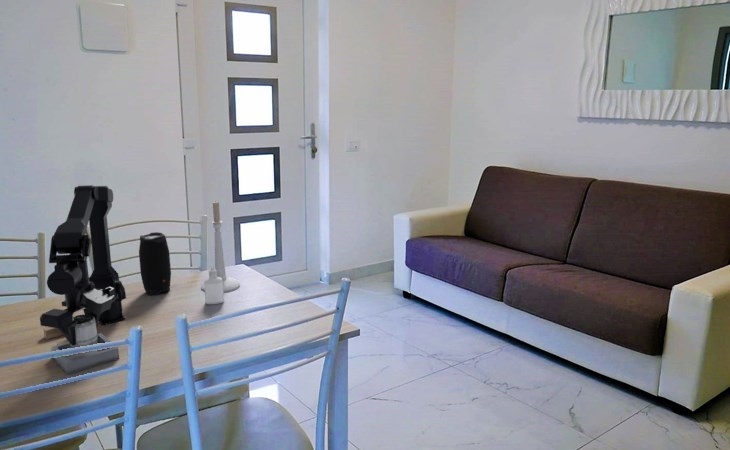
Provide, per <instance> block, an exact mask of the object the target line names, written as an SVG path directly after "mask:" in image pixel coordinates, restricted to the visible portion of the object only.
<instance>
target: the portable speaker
mask: <svg viewBox="0 0 730 450" xmlns="http://www.w3.org/2000/svg"><path fill="white" fill-rule="evenodd" d="M138 247H139V248H138V257H139V267H140V268H139V270H140V276H141V281H142V285H143V288H144V291H145V293H146V295H148V296H158V295H159V294H160V293H163V292H166V293H168V292H171V279H172V271H171V269H172V268H171V258H170V257H171V255H170V250H169V246H168V241H167V238H166V235H165V234H163V232H157V231H154V232H150V233H148V234H144V235H140V236H139V246H138Z"/></svg>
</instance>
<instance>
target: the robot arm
mask: <svg viewBox="0 0 730 450" xmlns="http://www.w3.org/2000/svg"><path fill="white" fill-rule="evenodd" d="M73 194H74V197H73V198H72V199H73V200H72V203H71V205H70V209H69V211H68V215H67V218H66V219H65V221H64V222H63V223H60V224H59V225H58V226H57V228H56V229H55V231H54V233H53V235H51V240H50V251H49V257H48V264H55V265H54V267H53V268H54V270H53V271H52V272H51V273H50V274H49V275H48V277H47V280H46V285H47V288H48V290H49V291H51V292H52V293H53V294H55V295H58V296H59V295H60V296H61V295H62V296H64V300H63V301H61V307H66V308H65V309H60V308H59V309H58V308H52V309H49V310H47V311H46V312H44V313H41V315H40V316H39V321H40V326H42V327H46V328H47V327H53V328H58V329H59V330H60V331H61V332H62V334H63V335H62V336H64V337H65V340H68V341H69V343H70V344H71V345H76V334H75V325H76V324H77V323H78V321H76V320H74V319H73V317H74V315H75V314H76V313H79V312H81V311H82V312H83V313H84V314H83V315H92V316H93V317H94V318H95V322H96V330H98V327H99V324H101V325H108V324H112V323H116V322H119V321H123V320H126V316H124V313H123V304H122V301H124V300H126V299H127V294H126V289H125V287H124V285H123V282H122V281H121V280H120V276H119V273H118V272H117V270H116V269H115V268H114V267H113V266H112V260H111V248H110V246H111V245H110V239H109V238H110V237H109V226H108V217H107V216H108V215H109V213H110V211H111V210H112V207H113V201H114V193H113V190H112V189H111V188H109V186H108V185H94V184H91V185H90V184H89V185H78V186H75V187H74V191H73ZM88 224H89V232H88V229H87V228H88ZM89 233H90V234H89ZM90 252H92V262H93V263H92V265H93V271H92V273H91V274H90V275H89V268H88V260H87V259H88V257H90V254H91V253H90Z"/></svg>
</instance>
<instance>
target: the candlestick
mask: <svg viewBox="0 0 730 450" xmlns="http://www.w3.org/2000/svg"><path fill="white" fill-rule="evenodd" d="M212 211H213V212H212V213H213V221H211V223H212V224H213V225H212V227H213V228H214V269H215V270H217V277H220V278H222V281H223V294H224V293H230V292H233V291H235V290H237V289H239V288H240V287H241V283H240V281H239V280H238V279H236V278H234V277H229V276H227V275H226V267H225V258H224V248H223V241H222V231H221V228H222V223H223V220H221V217H220V216H221V214H220V202H219V201H216V200H215V201H213V202H212ZM201 290H202V291H204V292H205V285H204V283H202V285H201Z"/></svg>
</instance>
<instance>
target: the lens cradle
mask: <svg viewBox="0 0 730 450" xmlns="http://www.w3.org/2000/svg"><path fill="white" fill-rule="evenodd" d="M43 335H44V338H45V339H46V340H49V339H53V338H56V337H60V336H64V335H63V334H62V332H61V331H60V330H59V329H58V328H53V327H47V326H46V327H45V328H44V327H43ZM67 342H69V341H68V340H67V339H64V340H60V341H57V342H56V345H60V344H63V343H67Z"/></svg>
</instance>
